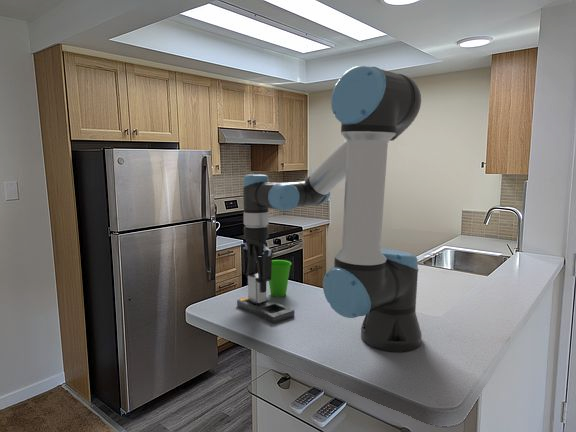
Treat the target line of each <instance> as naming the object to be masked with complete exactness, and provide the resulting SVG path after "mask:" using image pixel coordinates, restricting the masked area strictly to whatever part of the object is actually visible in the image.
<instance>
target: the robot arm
mask: <svg viewBox="0 0 576 432" xmlns="http://www.w3.org/2000/svg"><path fill="white" fill-rule="evenodd" d="M332 90H333V91H332V93H331V100H330V101H331V103H330V104H331V105H330V106H331V111H332V113H333V115H334V117H335V118H336V120H337V121H338V122H340V124H341V125H340V126H341V127H340V134H341V136H342V137H343V138H344V139H345V140H344V141H343V142H342V143H341V144H340V145H339V146H338V147H337V148H336V149H335V150H334V151H333V152H332V153H331V154H330V155H329V156H328V157H327V158H326V159H325V160H324V161H323V162H322V163H321V164H320V165H319V166H318V167H317V168H316V169H315V170H314V171H313V172H312V173H311V175H309V176H308V177H307V179H305V180H303V181H290V182H288V181H287V182H270V180H269V175H267V174H246V175H244V177H243V185H242V186H243V187H242V196H243V199H242V200H243V201H242V202H243V225H244V227H243V239H245V240H246V242H243V243H240V247H241V256H242V258H241V259H242V274H243V275H245V276H246V278H247V279H248V275H252V274H256V269H257V273H258V277H259V281H257V304H260V303H261V302H264V301H266V298H267V282H269V280H271V272H272V260H273V254H274V249H273V248H269V247H268V245H267V240H268V239H269V237H270V233H269V232H270V230H269V229H270V228H269V226H268V225H269V222H270V221H269V212H270V211H269V210H270V209H272V210H277V211H281V212H282V211H286V212H287V211H292V210H294V209H295V208H296V209H297V208H302V207H303V208H305V207H306V208H307V207H318V206H321V205H324V204H326V203H327V202H329V198H330V196H331V192H332V191H333V189H335V188H336V187H337V186H338V185H339V184H340V183H342V182H343V181H344V180H345V183H344V186H345V187H344V199H343V202H344V203H343V216H342V217H343V219H342V221H343V222H342V238H341V247H340V248H339V250H338V251H337V252H335V254H334V263H333V266H334V267H333V268H330V269H329V270H328V271H327V272H326V273H325V275H324V277H323V280H322V289H323V294H324V297H325V300H326V302H327V303H328V304H329V306H330V308H331V309H332V310H333V311H334V312H335V313H337V315H339V316H341V317H344V318H346V319H355V318H359V317H364V316H365V317H364V319H363V322H362V325H361V327H360V338H361V340H362V341H363V342H364V343H366V344H367V345H369V346H371V347H372V348H375V349H378V350H381V351H386V352H391V353H392V352H393V353H394V352H395V353H396V352H397V353H403V352H411V351H414V350H416V349H419V347H420V346H421V344H422V338H423V336H422V331H421V327H420V322H419V319H418V316H417V313H416V312H417V311H416V309H417V306H416V305H417V294H418V293H417V292H418V291H417V289H418V276H419V275H418V273H419V267H418V265H419V263H418V262H419V260H418V257H417V256H416V255H414V254H412V253H410V252H406V251H400V250H396V249H395V250H394V249H386V248H381V247H382V246H381V245H382V244H381V242H382V231H383V216H384V215H383V214H384V202H385V190H386V175H387V174H386V173H387V159H388V145H389V144H388V143H389V142H393V141H395V140H396V139H397V138H398V137H399V136H400V135H402V134H403V133H404V132H405V131H406V130H407V129H408V128H409V127H410V126H411V125H412V124H413V122H414V121H415V120H416V119H417V116H418V114H419V113H420V110H421V105H422V94H421V91H420V88H419V87H418V84H416V82H415V81H414V80H413V79H412V78H411V77H409V76H407V75H404V74H401V73H397V72H392V71H389V70H385V69H381V68H380V67H378V66H377V67H376V66H365V65H359V66H354V67H352V68H349V69H348V70H347V71H345V72H344V73H343V74H342V75H341V78H340V79H338V80H337V82H336V83H335V86H334V88H333V89H332ZM262 277H263V278H262Z"/></svg>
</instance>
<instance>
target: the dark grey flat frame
mask: <svg viewBox="0 0 576 432" xmlns="http://www.w3.org/2000/svg"><path fill="white" fill-rule="evenodd" d="M236 306H237V307H238V308H240V309H242V310H245V312H248V313H250V314H253V315H254V316H257V317H259V318H260V319H263V320H265V321H266V322H269V323H271V324H273V325H274V324H278V323H279V322H283V321H286V320H289V319H292V318H294V317H295V309H293V308H290V307H288V306H286V305H283V304H281V303H278V302H276V301H274V300H272V299H269V298H267V297H266V301H264V302H261V303H259V304H256V303H253V302H251V301H249V300H248V297H243V298H240V299H237V300H236ZM273 311H275V312H273ZM271 312H272V313H271Z"/></svg>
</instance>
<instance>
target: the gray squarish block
mask: <svg viewBox="0 0 576 432" xmlns="http://www.w3.org/2000/svg"><path fill="white" fill-rule="evenodd" d="M262 278H263V277H262ZM257 281H259V277H258V272H257V273H256V272H255V274H252V275H248V278H247V296H248V300H249V301H251V302H253V303H256V304H255V305H258V303H257Z"/></svg>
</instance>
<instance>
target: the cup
mask: <svg viewBox="0 0 576 432" xmlns="http://www.w3.org/2000/svg"><path fill="white" fill-rule="evenodd" d="M292 264H293V263H292V262H291V261H290V260H287V259H286V260H284V259H272V272H271V280H269V281H268V284H269V290H270V294H271V296H272V297H275V296H276V298H279V297H284V296H286V294H287V289H288V283H289V277H290V271H291V266H292Z"/></svg>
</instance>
